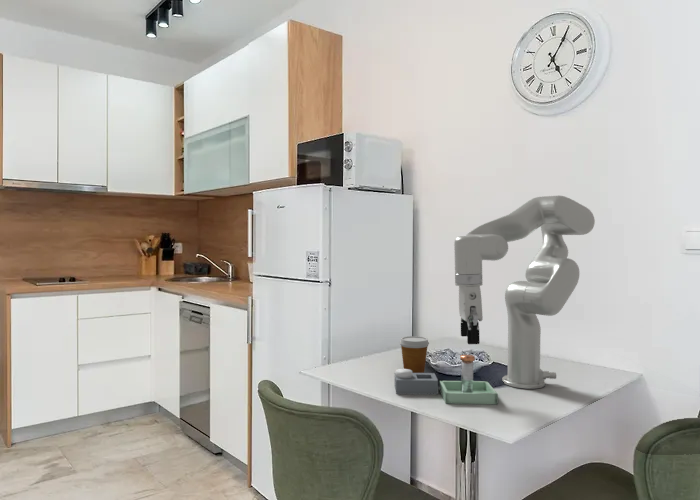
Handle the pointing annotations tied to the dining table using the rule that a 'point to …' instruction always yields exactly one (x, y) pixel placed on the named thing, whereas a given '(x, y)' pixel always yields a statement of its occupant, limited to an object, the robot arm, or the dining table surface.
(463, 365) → the pin
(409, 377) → the block
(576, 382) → the dining table surface
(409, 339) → the disposable coffee cup
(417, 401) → the dining table surface
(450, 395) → the tray
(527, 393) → the dining table surface
